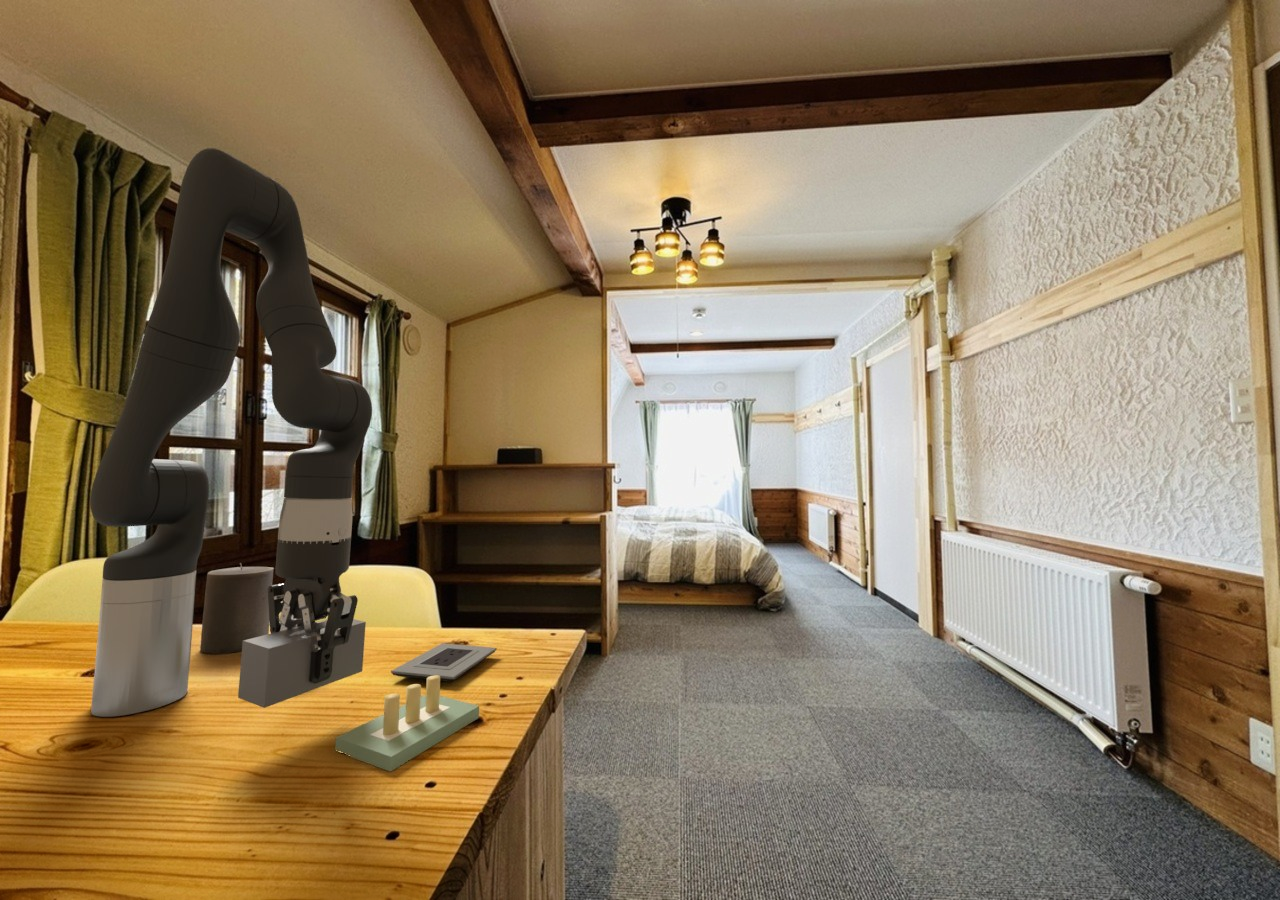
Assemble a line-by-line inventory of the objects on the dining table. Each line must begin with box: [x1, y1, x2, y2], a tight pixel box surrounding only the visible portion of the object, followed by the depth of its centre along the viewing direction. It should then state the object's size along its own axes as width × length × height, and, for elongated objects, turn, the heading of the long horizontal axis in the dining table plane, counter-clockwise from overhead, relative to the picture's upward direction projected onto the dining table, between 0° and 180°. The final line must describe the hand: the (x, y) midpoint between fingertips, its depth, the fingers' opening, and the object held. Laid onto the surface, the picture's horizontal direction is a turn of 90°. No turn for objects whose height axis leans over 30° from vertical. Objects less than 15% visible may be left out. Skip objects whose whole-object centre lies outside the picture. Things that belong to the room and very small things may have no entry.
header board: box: [334, 675, 480, 772], centre depth 59 cm, size 9×13×6 cm
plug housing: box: [237, 618, 367, 709], centre depth 59 cm, size 5×11×6 cm, turn 156°
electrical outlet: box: [390, 642, 497, 683], centre depth 79 cm, size 13×10×2 cm
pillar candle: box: [199, 562, 275, 655], centre depth 90 cm, size 10×10×15 cm
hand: (305, 675), depth 59 cm, fingers closed on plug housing, 5 cm apart
